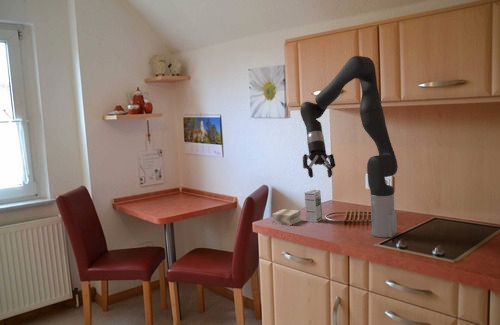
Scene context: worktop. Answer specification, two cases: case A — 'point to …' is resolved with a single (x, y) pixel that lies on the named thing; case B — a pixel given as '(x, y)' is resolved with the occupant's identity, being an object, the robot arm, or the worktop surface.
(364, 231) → the worktop surface
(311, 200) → the syrup box
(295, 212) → the ash block
